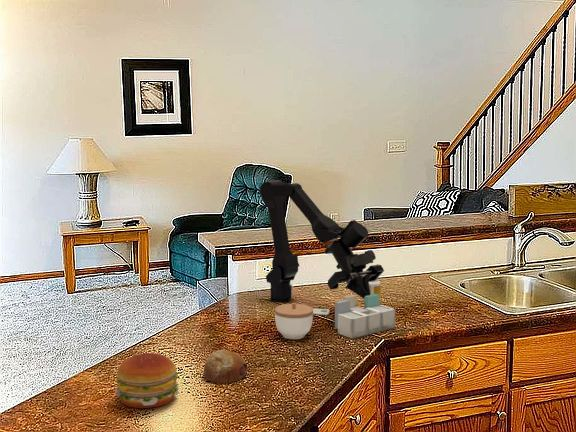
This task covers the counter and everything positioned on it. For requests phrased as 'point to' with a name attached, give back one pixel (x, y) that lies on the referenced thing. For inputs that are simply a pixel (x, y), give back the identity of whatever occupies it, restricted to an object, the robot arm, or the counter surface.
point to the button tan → (355, 304)
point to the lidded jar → (293, 320)
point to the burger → (146, 380)
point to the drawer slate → (343, 310)
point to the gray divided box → (366, 322)
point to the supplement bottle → (374, 288)
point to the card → (321, 311)
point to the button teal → (373, 302)
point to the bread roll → (225, 367)
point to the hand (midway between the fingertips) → (369, 300)
